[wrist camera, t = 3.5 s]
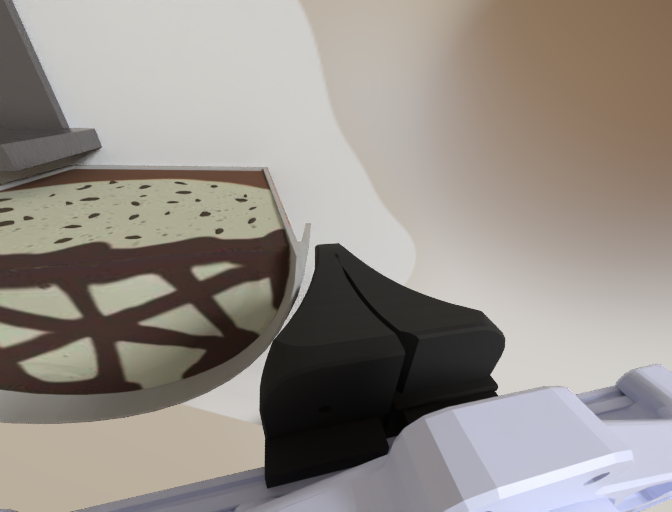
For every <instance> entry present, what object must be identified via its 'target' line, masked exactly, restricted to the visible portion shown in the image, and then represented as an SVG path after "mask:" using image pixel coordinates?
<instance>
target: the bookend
mask: <svg viewBox="0 0 672 512" xmlns="http://www.w3.org/2000/svg"><path fill="white" fill-rule="evenodd" d="M100 147H102V146H101V143H100V141H99V139H98V136H97V134H96V131H95V129H84V128H69V126H68V124H67V122H66V120H65V117H64V115H63V113H62V111H61V108H60V106H59V104H58V102H57V100H56V97H55V95H54V93H53V91H52V88H51V86H50V84H49V82H48V80H47V77H46V75H45V73H44V71H43V69H42V66H41V64H40V62H39V60H38V57H37V55H36V53H35V51H34V49H33V46H32V44H31V42H30V40H29V37H28V35H27V33H26V31H25V29H24V26H23V24H22V22H21V20H20V18H19V15H18V13H17V11H16V9H15V6H14V4H13V2H12V0H0V171H19V170H23V169H26V168H30V167H33V166H37V165H40V164H44V163H47V162H51V161H54V160H58V159H61V158H65V157H68V156H72V155H75V154H79V153H82V152H86V151H89V150H93V149H96V148H100Z"/></svg>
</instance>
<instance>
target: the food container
mask: <svg viewBox="0 0 672 512" xmlns="http://www.w3.org/2000/svg"><path fill="white" fill-rule="evenodd" d="M310 227H311V224H310V223H306V225H305V230H304V234H303V238H302V242H297V240H296V238H295V235H294V233H293V230H292V228H291V225H290V223H289V220H288V218H287V215H286V213H285V210H284V208H283V205H282V203H281V201H280V198H279V196H278V193H277V191H276V188H275V186H274V183H273V181H272V178H271V176H270V173H269V171H268V168H267V167H199V166H121V165H69V166H66V167H62V168H59V169H55V170H51V171H48V172H44V173H40V174H37V175H33V176H30V177H26V178H22V179H19V180H15V181H11V182H8V183H4V184H1V185H0V422H4V423H30V424H31V423H32V424H33V423H34V424H59V423H77V422H93V421H101V420H109V419H117V418H124V417H129V416H134V415H139V414H143V413H149V412H153V411H157V410H160V409H164V408H167V407H170V406H174V405H177V404H180V403H183V402H186V401H188V400H191V399H193V398H195V397H198V396H200V395H203V394H205V393H207V392H209V391H211V390H213V389H215V388H217V387H218V386H220V385H222V384H224V383H226V382H227V381H229V380H231V379H232V378H233V377H235V376H236V375H238V374H239V373H240V372H242V371H243V370H244V369H246V368H247V367H249V366H250V365H251V364H252V363H253V362H254V361H255V360H256V359H257V358H258V357H259V356H260V355H261V354H262V353H263V352H264V351H265V350H266V349H267V348H268V346H269V345H270V344H271V342H272V341H273V339H274V338H275V337H276V335H277V334H278V333H279V331H280V330H281V328H282V326H283V323H284V321H285V320H286V318H287V317H288V315H289V313H290V311H291V309H292V307H293V305H294V303H295V301H296V298H297V296H298V293H299V290H300V286H301V283H302V279H303V276H304V272H305V266H306V260H307V254H308V248H309V238H310Z"/></svg>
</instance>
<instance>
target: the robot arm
mask: <svg viewBox="0 0 672 512" xmlns="http://www.w3.org/2000/svg"><path fill="white" fill-rule="evenodd" d="M504 348H505V337H504V335H503V333H502V332H501V331H500V330H499V329H498V328H497V326H496V325H495V324H494V323H492V321H491V320H490V319H489V318H488V317H486V315H485V314H484V313H483V312H482V311H479V310H475V309H471V308H467V307H463V306H459V305H454V304H451V303H448V302H444V301H441V300H438V299H435V298H432V297H429V296H426V295H424V294H421V293H419V292H416V291H414V290H411V289H409V288H407V287H405V286H402V285H400V284H398V283H396V282H394V281H393V280H391V279H389V278H387V277H385V276H383V275H382V274H380V273H378V272H377V271H375V270H374V269H372V268H371V267H369V266H368V265H366V264H365V263H364V262H362V261H361V260H359V259H358V258H357V257H355V256H354V255H353V254H352V253H350V252H349V251H348V250H347V249H345V248H344V247H343V246H341V245H340V244H339V243H337V244H322V245H317V246H316V247H315V271H314V274H313V277H312V281H311V283H310V286H309V288H308V291H307V293H306V295H305V297H304V299H303V301H302V303H301V304H300V306H299V308H298V309H297V311H296V312H295V314H294V315H293V317H292V318H291V320H290V321H289V322H288V324H287V325H286V326H285V327H284V329H283V330H282V331H281V332H280V333H279V334H278V336H277V337H276V338H275V339H274V340H273V342H272V345H271V348H270V351H269V353H268V356H267V359H266V362H265V366H264V370H263V374H262V378H261V384H260V415H261V420H262V425H263V430H264V435H265V467H262V468H257V469H253V470H248V471H244V472H240V473H235V474H232V475H227V476H223V477H218V478H214V479H210V480H205V481H201V482H197V483H192V484H188V485H184V486H180V487H175V488H171V489H167V490H163V491H158V492H154V493H149V494H145V495H141V496H136V497H132V498H128V499H123V500H120V501H115V502H111V503H107V504H102V505H98V506H93V507H89V508H85V509H81V510H76V511H72V512H640V511H643V510H645V509H648V508H650V507H653V506H655V505H658V504H660V503H663V502H665V501H668V500H670V499H672V372H671V371H670V370H668V369H667V368H665V367H664V366H662V365H661V364H654V365H649V366H645V367H640V368H636V369H633V370H630V371H629V372H627V373H625V374H624V375H623V376H622V377H621V378H620V379H619V380H618V381H617V382H616V385H615V386H611V387H606V388H602V389H598V390H593V391H589V392H585V393H581V394H576V395H575V394H573V392H571V391H570V390H569V389H568V388H567V387H562V386H543V387H538V388H534V389H529V390H525V391H520V392H515V393H511V394H506V395H501V396H498V395H497V394H496V392H495V391H496V390H497V389H498V385H497V383H496V382H495V381H494V380H493V378H492V377H491V376H490V374H491V373H492V371H493V369H494V367H495V366H496V364H497V362H498V360H499V359H500V357H501V355H502V353H503V351H504ZM0 512H17V511H14V510H10V509H0Z"/></svg>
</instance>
